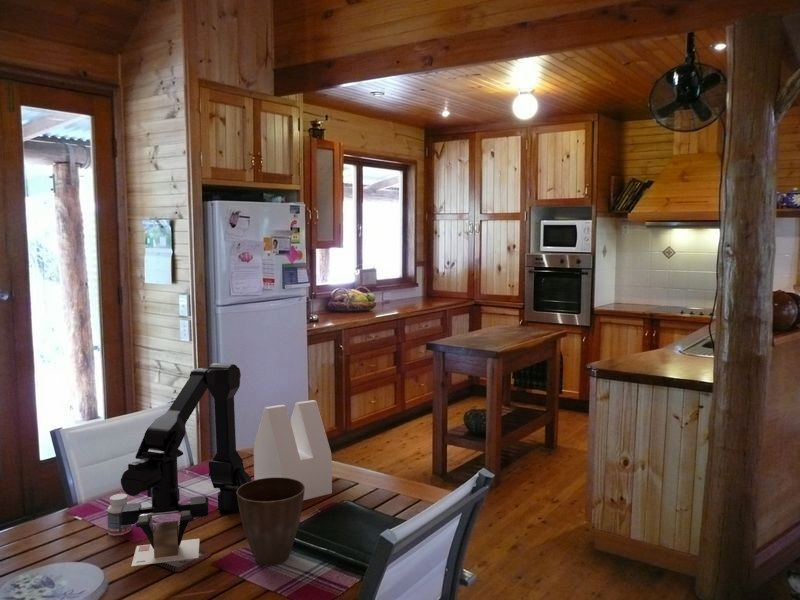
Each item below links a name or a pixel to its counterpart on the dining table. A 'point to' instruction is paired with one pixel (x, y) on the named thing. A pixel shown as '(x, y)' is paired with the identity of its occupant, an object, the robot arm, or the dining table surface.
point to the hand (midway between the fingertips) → (166, 546)
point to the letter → (186, 551)
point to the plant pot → (271, 517)
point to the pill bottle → (117, 515)
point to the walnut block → (166, 539)
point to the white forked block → (294, 448)
